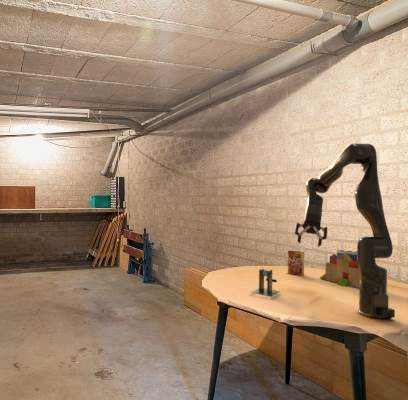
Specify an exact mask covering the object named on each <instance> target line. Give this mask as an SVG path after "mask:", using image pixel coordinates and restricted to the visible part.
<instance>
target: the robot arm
mask: <svg viewBox="0 0 408 400" xmlns="http://www.w3.org/2000/svg"><path fill="white" fill-rule="evenodd" d="M377 157H378V155H377V150H376V148H375V146H374V145H373V144H372V143H350V144H348V145H347V146H345V148H343V150H342V151H341V152H340V154H339V155H338V156H337V157H336V159H335V160H334V161H333V162H332V163H331V164H330V166H329V167H328V168H326V169H325V170H324V171H323V172H322V173H320V174H319V176H318V178H316V177H310V178H308V180H307V181H306V184H305V190H306V194H307V195H306V196H307V203H306V208H305V213H304V220H303V223H300V222H297V223H296V226H295V230H294V235H296V236H297V243H298V244H301V241H302V236H303V235H304V234H305V233H306V234H311V235H316V237H317V238H318V241H317V247H318V248H320V247H321V246H322V242H323V240H326V239H327V238H328V227H327V226H321V223H322V216H323V205H324V197H322V195H319V194H325V193H327V192H328V191H329V189H330V187H331V186H332V185H333V183H335V182H336V181H338V180H339V179H340V178H341V177H342V175H343V173H344V168H345V167H347V166H349V165H361V171H362V172H361V173H362V174H361V178H360V180H359V182H358V183H357V186H356V187H355V189H354V199H355V206H356V209H357V211H358V212H359V213H360V215H361V216H362V217H363V219H364V220H366V222H368V224H369V226H370V228H371V232H372V236H362V237H360V238H359V240H358V241H357V245H356V246H357V247H356V251H357V254H358V266H359V269H360V280H359V288H358V291H359V292H358V297H359V298H358V313H359V314H360V315H361V316H364V317H369V318H372V319H387V320H391V319H393V318H395V316H396V309H393V308H391V307H389V295H388V293H387V292H388V270H387V269H386V268H385V267H383V266H379V265H378V263H377V262H376V259H378V260H379V259H389V258H390V257H391V256H392V254H393V251H394V250H393V249H394V248H393V242H392V238H391V234H390V231H389V228H388V225H387V221H386V220H387V219H386V216H385V211H384V204H383V197H382V192H381V188H380V181H379V174H378V158H377ZM300 228H302V230H301V231H300V232H299V229H300ZM320 231H322V232H323V235H321V233H320Z"/></svg>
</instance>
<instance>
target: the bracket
mask: <svg viewBox="0 0 408 400" xmlns="http://www.w3.org/2000/svg"><path fill="white" fill-rule="evenodd" d="M263 270H265V268H260V269H259V270H258V272H259V273H258V288H257V289H255V290H253V291H251V292H250V293H251V294H255V295H260V296H261V295H262V296H266V297H271V298H272V297H274V296H275V295H277V294H279V293H280V292H281V291H280V290H274V289H273V282H272V279H273V269H268V271H267V277H266V278H267V281H266V282H267V283H266V284H267V285H266V286H267V287H266V288H265V276H263V274H262V273H263Z"/></svg>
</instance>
